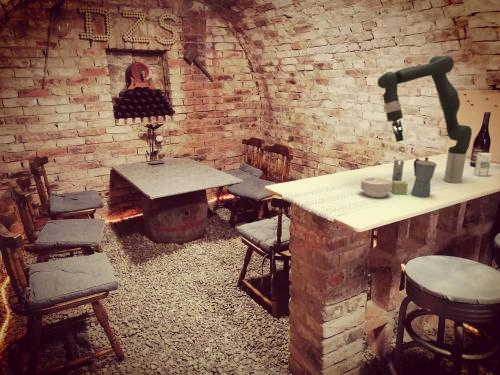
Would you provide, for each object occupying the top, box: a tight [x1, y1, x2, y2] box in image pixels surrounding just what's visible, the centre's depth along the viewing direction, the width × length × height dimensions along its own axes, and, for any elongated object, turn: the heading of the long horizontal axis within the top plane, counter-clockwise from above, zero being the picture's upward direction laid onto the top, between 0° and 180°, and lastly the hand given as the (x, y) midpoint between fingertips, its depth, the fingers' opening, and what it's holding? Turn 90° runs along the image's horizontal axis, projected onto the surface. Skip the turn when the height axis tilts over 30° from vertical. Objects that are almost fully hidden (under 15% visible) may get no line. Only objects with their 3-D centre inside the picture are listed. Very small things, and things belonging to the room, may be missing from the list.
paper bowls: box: [360, 177, 393, 198], centre depth 182 cm, size 15×15×8 cm
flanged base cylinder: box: [391, 159, 405, 181], centre depth 200 cm, size 6×6×14 cm
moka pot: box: [411, 157, 437, 198], centre depth 181 cm, size 10×15×20 cm, turn 16°
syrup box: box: [473, 152, 492, 177], centre depth 225 cm, size 6×6×14 cm
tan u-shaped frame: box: [390, 180, 409, 196], centre depth 191 cm, size 16×10×6 cm, turn 171°
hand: (399, 141), depth 186 cm, fingers open, 8 cm apart
